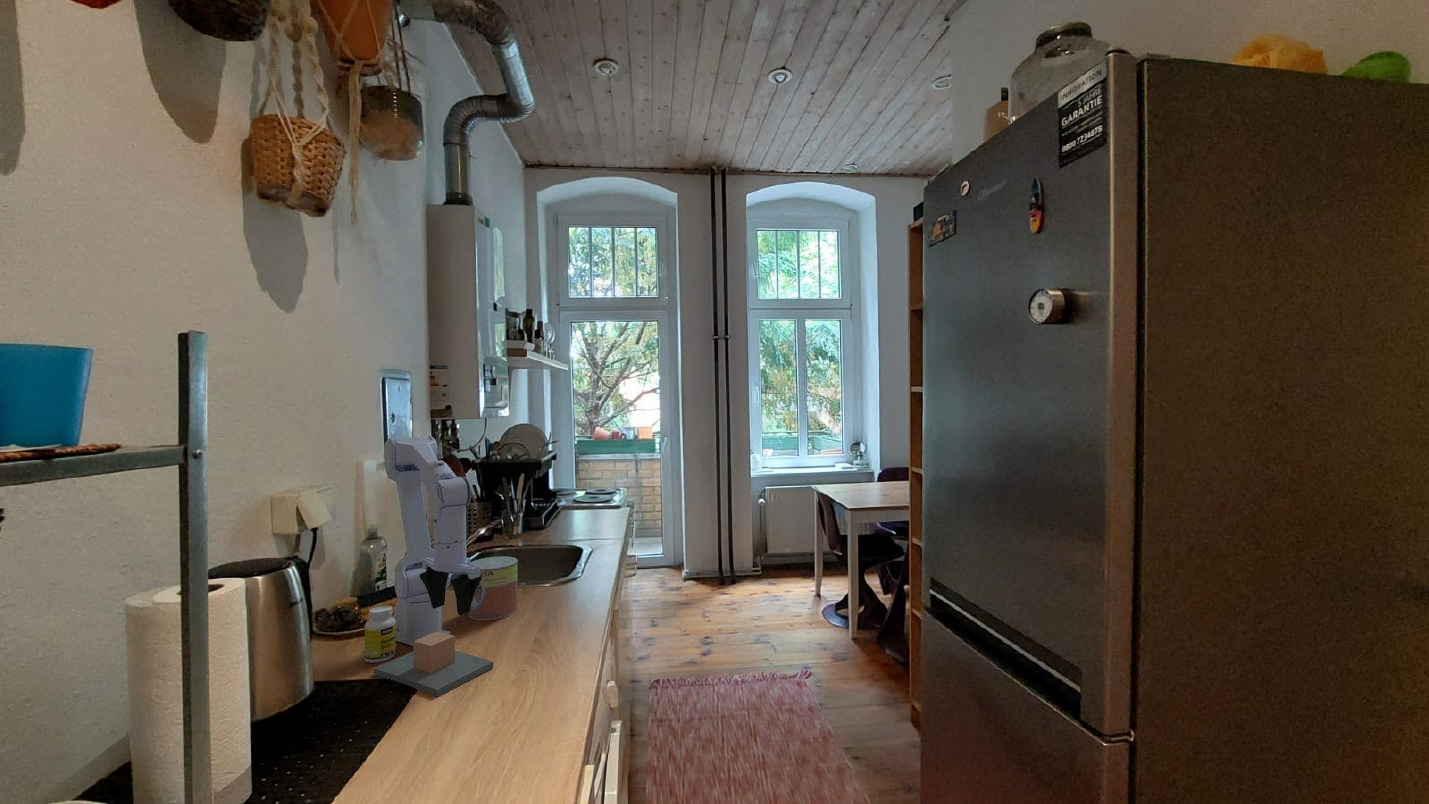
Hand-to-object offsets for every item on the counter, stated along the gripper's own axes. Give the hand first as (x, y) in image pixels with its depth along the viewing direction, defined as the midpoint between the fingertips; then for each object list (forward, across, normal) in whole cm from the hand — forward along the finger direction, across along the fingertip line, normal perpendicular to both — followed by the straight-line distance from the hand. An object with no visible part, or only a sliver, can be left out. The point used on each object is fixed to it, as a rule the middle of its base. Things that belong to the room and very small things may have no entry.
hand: (450, 610), depth 111 cm
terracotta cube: (+9, 0, +4) cm, 10 cm away
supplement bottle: (+11, +15, +5) cm, 19 cm away
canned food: (+11, +15, -23) cm, 30 cm away
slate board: (+10, 0, +4) cm, 11 cm away
